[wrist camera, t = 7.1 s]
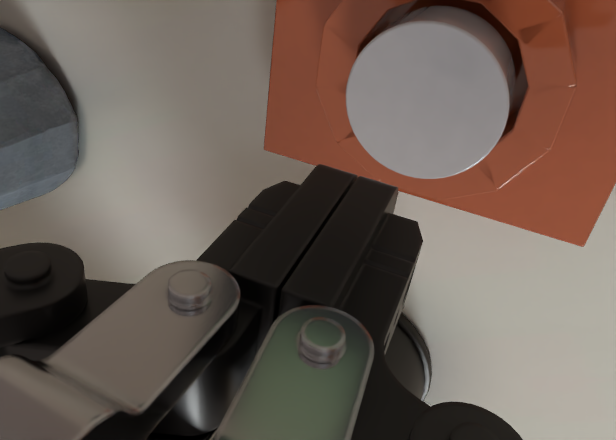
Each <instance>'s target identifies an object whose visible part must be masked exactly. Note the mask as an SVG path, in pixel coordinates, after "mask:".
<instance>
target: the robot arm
mask: <svg viewBox="0 0 616 440" xmlns="http://www.w3.org/2000/svg"><path fill="white" fill-rule="evenodd" d="M397 195H398V187H396V186H393V185H389V184H386V183H383V182H379V181H376V180H373V179H369V178H366V177H363V176H359V177H358V175H356V174H352V173H349V172H346V171H342V170H339V169H336V168H332V167H329V166H326V165H322V164H319V165H317V166H316V167H315V169H314V170H313V171H312V172H311V173H310V175H309V176H308V177H307V178H306V179H305V180H304V182H303V183H302V184H301V185H298V184H294V183H291V182H288V181H283V182H281V183H278V184H276V185H274V186H271V187H269V188H266V189H264V190H262V192H261V193H260V194H259V195H258V196H257V197H256V198H255V199H254V200H253V201H252V202H251V203H250V204H249V207H248V208H247V207H246V208H245V210H244V211H243V212H242V213H241V214H240V215H239V216H238V218H237V220H234V221H233V222H232V223H231V224H230V225H229V226H228V227H227V229H226V230H225V231H224V232H223V233H222V234H221V235H220V236H219V237H218V238H217V239H216V240H215V241H214V242H213V243H212V244H211V245H210V247H209V248H208V249H207V250H206V251H205V252H204V253H203V254H202V255H201V256H200V257H199V258H198V259H197V260H196V261H194V260H185V261H177V262H173V263H168V264H166V265H163V266H160V267H158V268H157V269H155V270H153V271H152V272H150V273H149V274H148V275H146V276H145V277H144V278H143V279H142V280H140V281H139V282H138V283H137V284H125V283H116V282H107V281H98V280H89V279H85V272H84V265H83V261H82V260H81V258H80V257H79V256H78V255H77V253H75V252H74V251H72V250H71V249H69V248H67V247H64V246H61V245H57V244H52V243H28V244H21V245H16V246H11V247H6V248H1V249H0V440H523V439H522V438H521V437H520V435H519V434H518V433H517V432H516V431H515V430H514V429H513V428H512V427H511V426H510V425H509V424H508V423H506V422H505V421H504V420H503V419H502V418H500V417H498V416H497V415H495V414H494V413H492V412H490V411H488V410H486V409H484V408H482V407H479V406H476V405H473V404H468V403H463V402H444V403H440V404H436V405H433V406H432V407H430V406H429V405H427V404H426V403H425V402H423V401H422V400H420V399H419V398H418V397H416V396H415V395H413V394H412V393H411V392H410V391H408V390H407V389H406V388H405V387H404V386H403V385H402V384H401V383H400V382H399V381H398V380H397V379H396V377H395V376H394V374H393V373H392V372H391V370H390V368H389V366H388V364H387V361H386V358H385V354H386V351H387V348H388V346H389V343H390V340H391V338H392V335H393V333H394V330H395V327H396V325H397V322H398V319H399V317H400V314H401V311H402V309H403V306H404V303H405V300H406V296H407V293H408V289H409V286H410V283H411V279H412V276H413V273H414V269H415V266H416V263H417V259H418V256H419V253H420V249H421V246H422V243H423V240H422V236H421V233H420V229H419V226H418V222H416V221H413V220H410V219H407V218H403V217H400V216H397V215H394V214H393V212H394V208H395V204H396V200H397Z"/></svg>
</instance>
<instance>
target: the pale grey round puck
mask: <svg viewBox="0 0 616 440" xmlns="http://www.w3.org/2000/svg"><path fill="white" fill-rule="evenodd" d="M515 85H516V73H515V66H514V61H513V58H512V55H511V52H510V50H509V48H508V46H507V44H506V42H505V41H504V39H503V38H502V36H501V35H500V34H499V32H498V31H497V30H496V29H495V28H494V27H493V26H492V25H491V24H489V23H488V22H487V21H486V20H484V19H483V18H481V17H480V16H478V15H476V14H474V13H472V12H470V11H468V10H464V9H461V8H458V7H452V6H429V7H423V8H419V9H416V10H413V11H411V12H408V13H406V14H404V15H403V16H401V17H399V18H397V19H396V20H395V21H394V22H392V23H391V24H390V25H389V26H387V27H386V28H385V29H384V30H383V31H382V32H380V33H379V34H378V35H377V36H376V37H375V38H373V39H372V40H371V41H370V42H369V43H368V44H367V45H366V46H365V47H364V48H363V50H362V51H361V52H360V54H359V55H358V56H357V58H356V60H355V62H354V64H353V66H352V68H351V71H350V73H349V77H348V81H347V86H346V109H347V115H348V118H349V122H350V125H351V127H352V130H353V132H354V134H355V136H356V137H357V139H358V141H359V142H360V144H361V145H362V146H363V148H364V149H365V150H366V151H367V152H368V153H369V154H370V155H371V156H372V157H373V158H374V159H375V160H377V161H378V162H379V163H381V164H382V165H384V166H385V167H387V168H389V169H391V170H393V171H395V172H397V173H400V174H402V175H405V176H409V177H414V178H421V179H437V178H445V177H449V176H453V175H456V174H459V173H462V172H464V171H466V170H468V169H470V168H472V167H473V166H475V165H476V164H478V163H479V162H480V161H482V160H483V159H484V158H485V157H486V156H487V155H488V154H489V153H490V152H491V151H492V150H493V148H494V147H495V146H496V144H497V143H498V141H499V139H500V138H501V136H502V134H503V131H504V129H505V126H506V123H507V119H508V115H509V112H510V108H511V104H512V100H513V97H514V93H515Z"/></svg>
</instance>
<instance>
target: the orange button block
mask: <svg viewBox="0 0 616 440" xmlns="http://www.w3.org/2000/svg"><path fill="white" fill-rule="evenodd" d="M429 6H452V7H458V8H461V9H464V10H468V11H470V12H472V13H474V14H476V15H478V16H480V17H481V18H483V19H484V20H486V21H487V22H488V23H489V24H491V25H492V26H493V27H494V28H495V29H496V30H497V31H498V32H499V34H500V35H501V36H502V38H503V39H504V41H505V42H506V44H507V46H508V48H509V50H510V52H511V55H512V58H513V61H514V66H515V73H516V85H515V93H514V97H513V100H512V104H511V108H510V112H509V115H508V119H507V123H506V126H505V129H504V131H503V134H502V136H501V138H500V139H499V141H498V143H497V144H496V146H495V147H494V148H493V150H492V151H491V152H490V153H489V154H488V155H487V156H486V157H485V158H484V159H483V160H482V161H480V162H479V163H478V164H476V165H475V166H473V167H472V168H470V169H468V170H466V171H464V172H462V173H459V174H456V175H453V176H449V177H445V178H437V179H421V178H414V177H409V176H405V175H402V174H400V173H397V172H395V171H393V170H391V169H389V168H387V167H385V166H384V165H382V164H381V163H379V162H378V161H377V160H375V159H374V158H373V157H372V156H371V155H370V154H369V153H368V152H367V151H366V150H365V149H364V148H363V146H362V145H361V144H360V142H359V141H358V139H357V137H356V136H355V134H354V132H353V130H352V127H351V125H350V122H349V118H348V115H347V109H346V86H347V81H348V77H349V73H350V71H351V68H352V66H353V64H354V62H355V60H356V58H357V56H358V55H359V54H360V52H361V51H362V50H363V48H364V47H365V46H366V45H367V44H368V43H369V42H370V41H371V40H372V39H373V38H375V37H376V36H377V35H378V34H379V33H380V32H382V31H383V30H384V29H385V28H386V27H387V26H389V25H390V24H391V23H392V22H394V21H395V20H396V19H397V18H399V17H401V16H403V15H404V14H406V13H408V12H411V11H413V10H416V9H419V8H423V7H429ZM264 150H266V151H270V152H273V153H276V154H279V155H283V156H286V157H289V158H293V159H296V160H299V161H302V162H306V163H309V164H312V165H316V166H317V165H319V164H322V165H326V166H329V167H332V168H336V169H339V170H342V171H346V172H349V173H352V174H356V175H358V177H359V176H363V177H366V178H369V179H373V180H376V181H379V182H383V183H386V184H389V185H393V186H396V187H398V191H401V192H404V193H407V194H411V195H414V196H417V197H421V198H424V199H427V200H430V201H434V202H437V203H440V204H444V205H447V206H450V207H453V208H457V209H460V210H463V211H467V212H470V213H473V214H476V215H480V216H483V217H486V218H490V219H493V220H496V221H499V222H503V223H506V224H509V225H513V226H516V227H519V228H522V229H526V230H529V231H532V232H535V233H539V234H542V235H545V236H549V237H552V238H555V239H558V240H562V241H565V242H568V243H572V244H575V245H578V246H581V247H583V246H584V245H585V244H586V242H587V240H588V238H589V236H590V234H591V232H592V230H593V228H594V226H595V224H596V222H597V220H598V218H599V216H600V214H601V212H602V210H603V208H604V206H605V204H606V202H607V200H608V198H609V196H610V194H611V192H612V190H613V188H614V186H615V184H616V0H277V1H276V13H275V24H274V36H273V47H272V59H271V70H270V82H269V93H268V105H267V116H266V128H265V140H264Z"/></svg>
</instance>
